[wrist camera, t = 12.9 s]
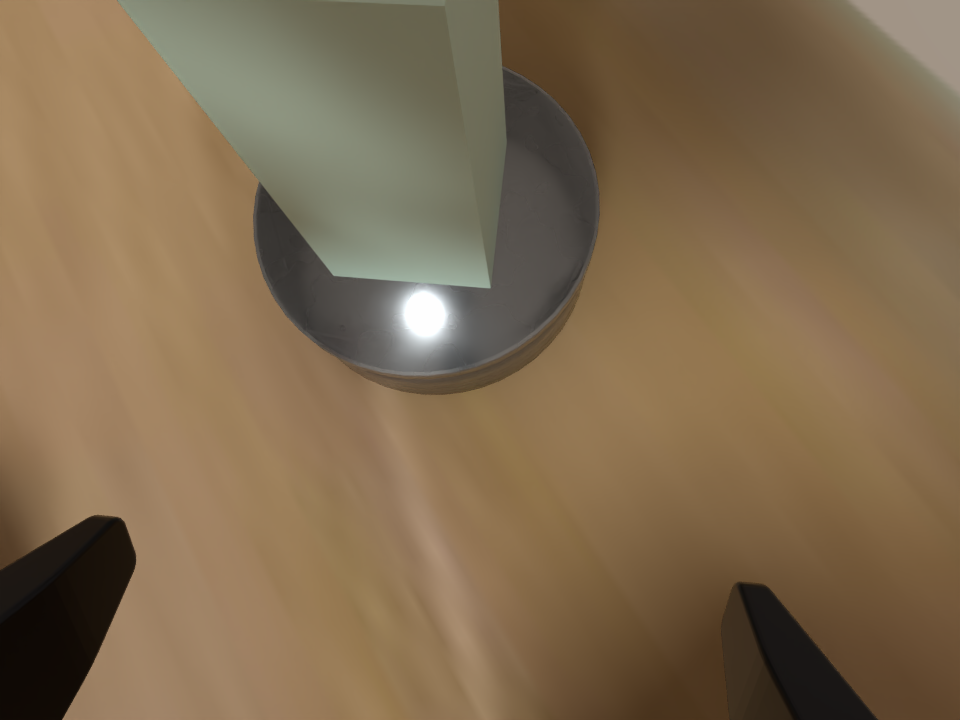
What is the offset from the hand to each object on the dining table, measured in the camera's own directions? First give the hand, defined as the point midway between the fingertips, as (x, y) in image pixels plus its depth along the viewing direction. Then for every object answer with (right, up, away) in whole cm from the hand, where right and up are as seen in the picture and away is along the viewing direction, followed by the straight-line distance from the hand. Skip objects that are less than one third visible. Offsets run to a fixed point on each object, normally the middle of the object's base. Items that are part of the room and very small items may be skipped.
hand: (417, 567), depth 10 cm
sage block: (-1, +8, +12) cm, 14 cm away
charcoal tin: (-1, +7, +16) cm, 17 cm away
